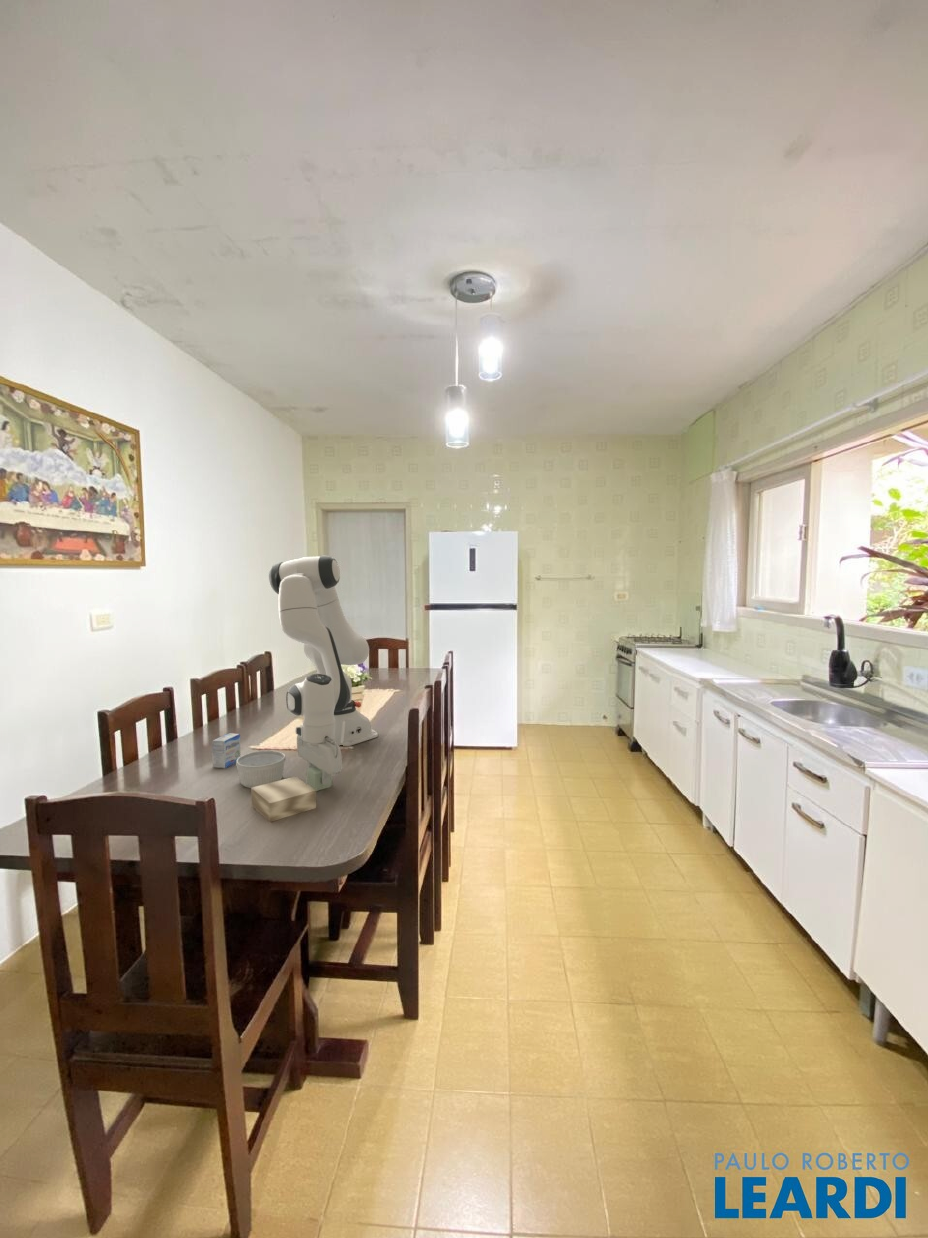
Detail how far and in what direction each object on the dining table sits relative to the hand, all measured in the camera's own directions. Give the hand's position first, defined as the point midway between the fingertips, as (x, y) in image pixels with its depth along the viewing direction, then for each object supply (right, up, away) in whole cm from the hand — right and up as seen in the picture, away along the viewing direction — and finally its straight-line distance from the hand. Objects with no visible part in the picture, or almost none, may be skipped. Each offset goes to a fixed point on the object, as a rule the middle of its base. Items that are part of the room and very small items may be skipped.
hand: (319, 780), depth 147 cm
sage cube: (0, -2, 0) cm, 2 cm away
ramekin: (-18, -1, +3) cm, 18 cm away
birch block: (-5, -3, -13) cm, 14 cm away
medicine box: (-33, 0, +16) cm, 37 cm away
